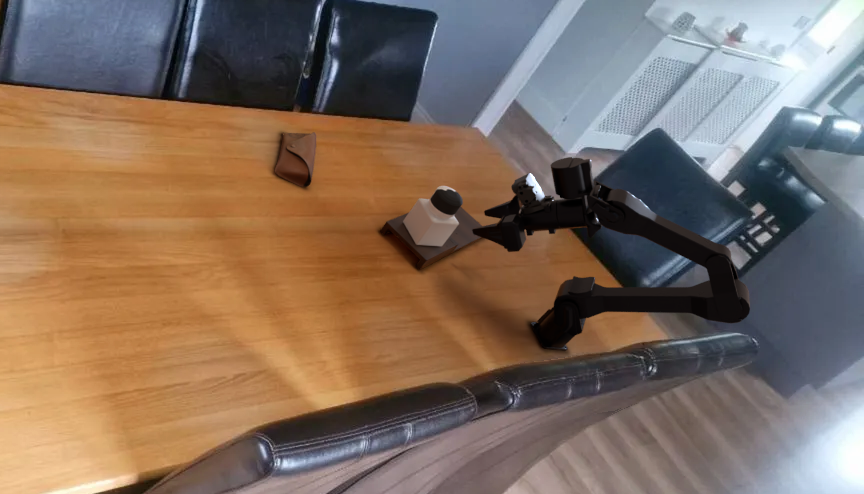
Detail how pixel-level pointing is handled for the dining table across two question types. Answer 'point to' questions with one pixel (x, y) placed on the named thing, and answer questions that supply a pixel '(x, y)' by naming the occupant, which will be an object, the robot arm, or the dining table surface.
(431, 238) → the medicine bottle
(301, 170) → the sunglasses case
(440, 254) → the step shelf
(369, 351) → the dining table surface
